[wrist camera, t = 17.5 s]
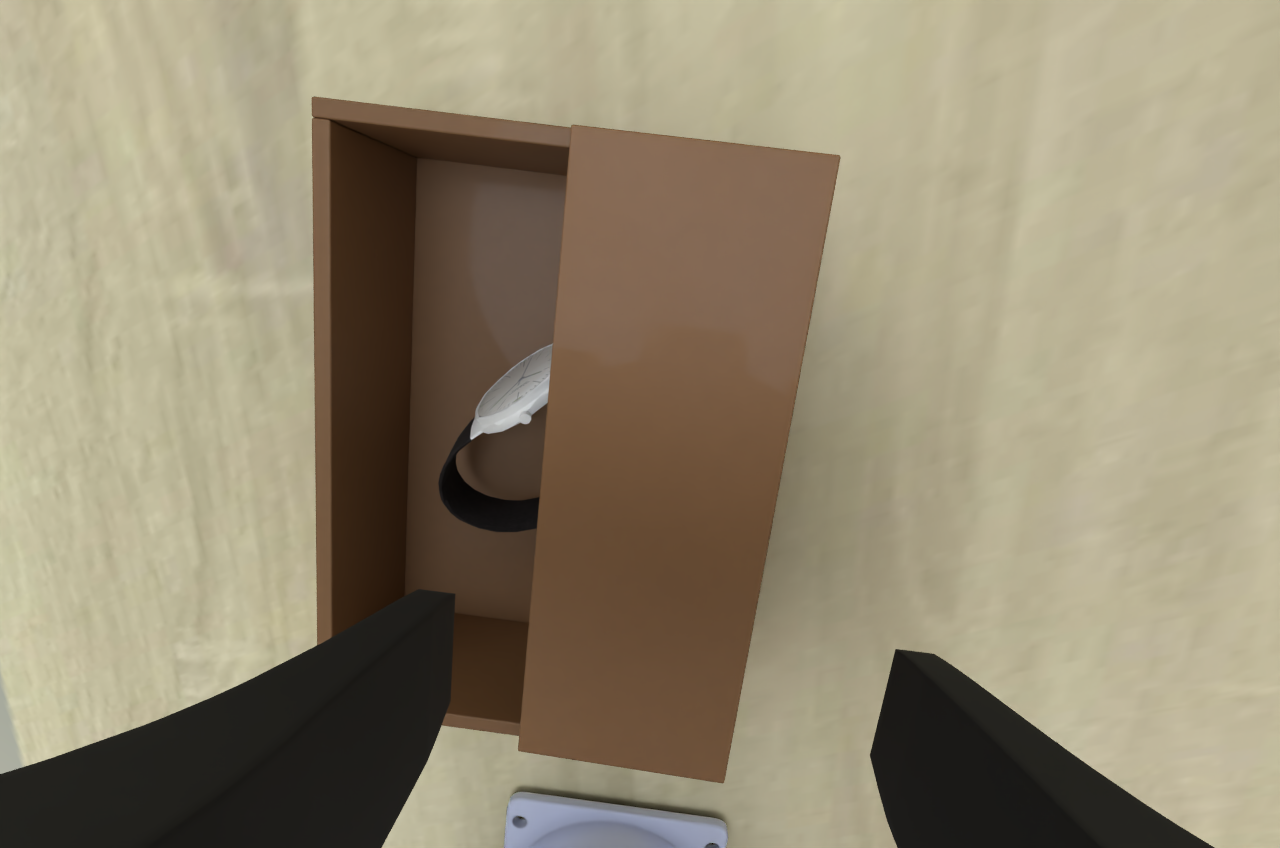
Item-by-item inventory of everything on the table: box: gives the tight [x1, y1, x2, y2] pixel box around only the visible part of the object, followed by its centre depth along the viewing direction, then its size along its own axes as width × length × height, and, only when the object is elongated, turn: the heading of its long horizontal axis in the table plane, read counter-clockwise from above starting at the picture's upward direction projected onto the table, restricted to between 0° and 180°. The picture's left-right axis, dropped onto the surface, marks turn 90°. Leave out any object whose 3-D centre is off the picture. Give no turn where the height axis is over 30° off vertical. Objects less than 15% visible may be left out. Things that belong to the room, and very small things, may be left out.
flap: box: [518, 125, 840, 783], centre depth 14 cm, size 5×15×1 cm, turn 173°
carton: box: [312, 97, 571, 736], centre depth 17 cm, size 11×15×5 cm
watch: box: [438, 344, 553, 532], centre depth 17 cm, size 8×5×4 cm, turn 124°
